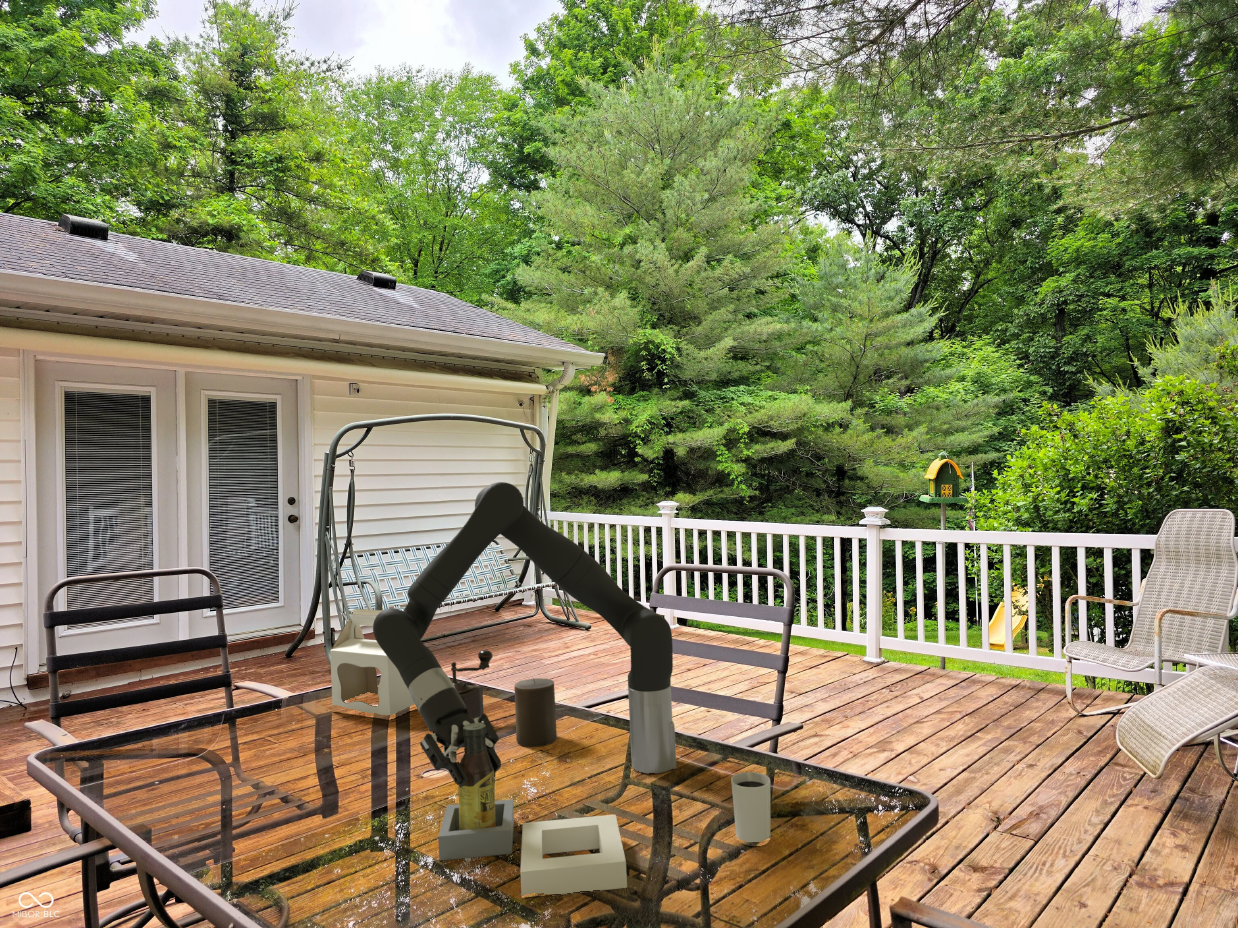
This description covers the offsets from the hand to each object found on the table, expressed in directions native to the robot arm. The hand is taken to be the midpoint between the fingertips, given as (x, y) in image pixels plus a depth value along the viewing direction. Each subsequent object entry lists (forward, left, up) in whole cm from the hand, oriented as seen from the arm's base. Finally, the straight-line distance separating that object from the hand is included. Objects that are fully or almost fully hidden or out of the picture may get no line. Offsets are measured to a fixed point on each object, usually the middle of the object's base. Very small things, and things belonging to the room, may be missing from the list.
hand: (481, 776), depth 131 cm
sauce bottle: (+1, -1, -12) cm, 12 cm away
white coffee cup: (-46, +8, -12) cm, 48 cm away
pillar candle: (-9, -49, -12) cm, 51 cm away
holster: (+1, -1, -11) cm, 12 cm away
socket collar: (-15, +11, -11) cm, 22 cm away
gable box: (+36, -85, -12) cm, 93 cm away
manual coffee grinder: (+10, -66, -12) cm, 68 cm away
